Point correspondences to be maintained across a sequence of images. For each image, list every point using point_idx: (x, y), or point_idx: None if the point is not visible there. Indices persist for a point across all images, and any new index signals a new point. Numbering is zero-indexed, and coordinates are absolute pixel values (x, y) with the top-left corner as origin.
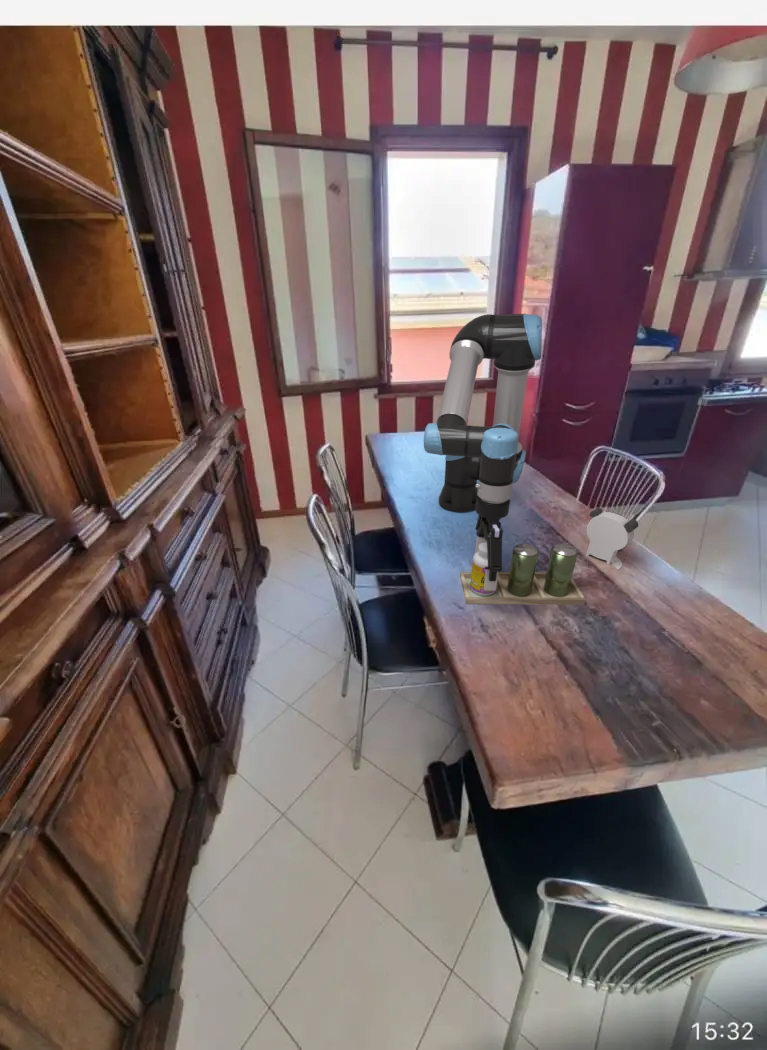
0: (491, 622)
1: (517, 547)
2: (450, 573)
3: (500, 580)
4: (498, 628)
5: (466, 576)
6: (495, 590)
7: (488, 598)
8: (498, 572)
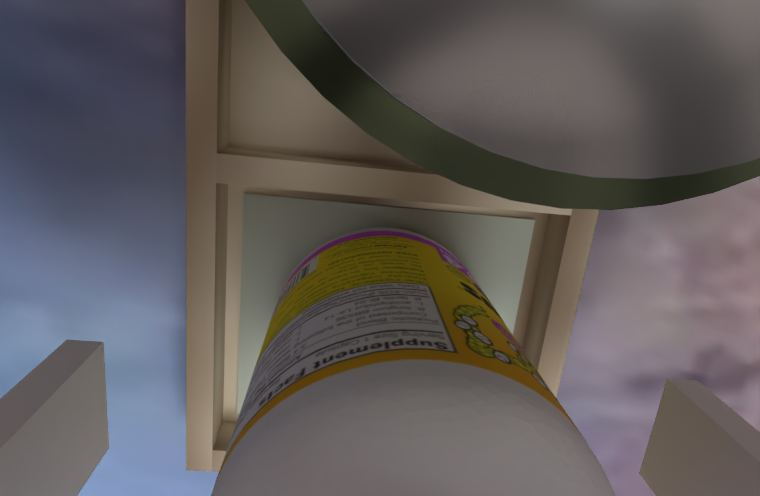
0: (683, 323)
1: (479, 17)
2: (123, 467)
3: (326, 171)
4: (745, 297)
5: (217, 412)
6: (696, 383)
7: (559, 342)
8: (468, 308)
